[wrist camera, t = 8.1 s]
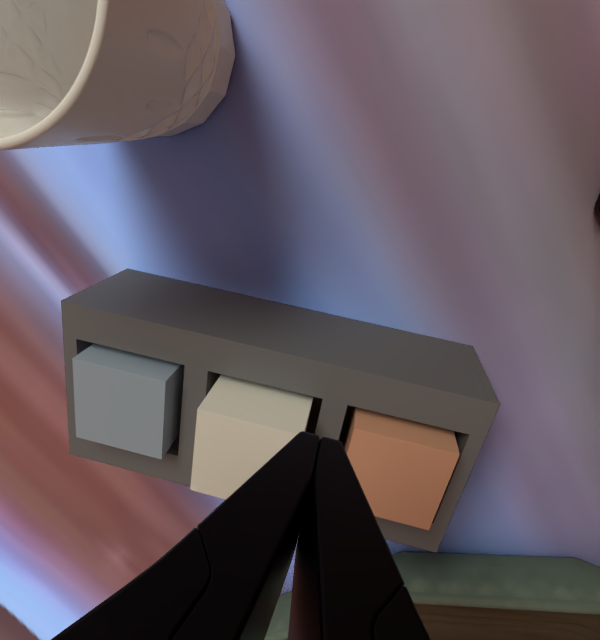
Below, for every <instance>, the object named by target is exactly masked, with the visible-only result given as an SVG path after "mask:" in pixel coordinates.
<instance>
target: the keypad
mask: <svg viewBox="0 0 600 640" xmlns="http://www.w3.org/2000/svg"><path fill="white" fill-rule="evenodd" d="M61 308H62V325H63V343H64V360H65V378H66V395H67V412H68V430H69V447H70V454H72V455H76V456H79V457H83V458H87V459H90V460H94V461H98V462H101V463H105V464H109V465H113V466H116V467H120V468H124V469H127V470H131V471H135V472H139V473H142V474H146V475H150V476H153V477H157V478H161V479H164V480H168V481H172V482H176V483H179V484H183V485H187V486H191V475H192V464H193V452H194V441H195V430H196V419H197V409H198V407H199V406H200V404H201V403H202V401H203V400H204V399H205V397H206V396H207V394H208V393H209V391H210V390H211V388H212V387H213V386H214V384H215V383H216V381H217V380H218V378H219V377H220V375H221V374H223V375H227V376H231V377H235V378H239V379H243V380H247V381H251V382H255V383H260V384H264V385H268V386H272V387H276V388H280V389H284V390H288V391H292V392H297V393H301V394H305V395H309V396H313V402H312V406H311V411H310V415H309V420H308V424H307V429H306V432H308V433H312V434H316V435H318V436H319V437H320V439H321V437H328V438H332V439H336V440H339V441H341V443H342V445H343V441H344V437H345V434H346V430H347V426H348V422H349V418H350V415H351V411H352V407H353V406H354V407H358V408H362V409H366V410H370V411H375V412H379V413H383V414H387V415H391V416H395V417H399V418H403V419H407V420H412V421H416V422H420V423H424V424H428V425H432V426H436V427H440V428H444V429H448V430H453V431H454V434H455V438H456V442H457V446H458V449H459V453H460V455H459V458H458V460H457V463H456V465H455V467H454V470H453V472H452V475H451V477H450V480H449V482H448V485H447V487H446V489H445V492H444V494H443V497H442V499H441V502H440V504H439V507H438V509H437V511H436V514H435V516H434V519H433V521H432V524H431V526H430V529H429V530H425V529H422V528H418V527H414V526H410V525H406V524H403V523H399V522H395V521H391V520H388V519H384V518H380V517H376V516H375V518H376V520H377V523H378V525H379V527H380V529H381V532H382V534H383V536H384V538H385V539H387V540H391V541H394V542H398V543H402V544H405V545H409V546H413V547H416V548H420V549H424V550H428V551H431V552H435V553H436V552H437V550H438V548H439V545H440V543H441V541H442V538H443V536H444V534H445V531H446V529H447V527H448V524H449V522H450V520H451V517H452V515H453V513H454V510H455V508H456V506H457V503H458V501H459V499H460V497H461V494H462V492H463V490H464V487H465V485H466V483H467V480H468V478H469V476H470V473H471V471H472V469H473V466H474V464H475V462H476V459H477V457H478V455H479V452H480V450H481V448H482V445H483V443H484V441H485V439H486V436H487V434H488V432H489V429H490V427H491V425H492V422H493V420H494V418H495V415H496V413H497V411H498V408H499V406H500V402H499V400H498V398H497V396H496V394H495V392H494V390H493V388H492V386H491V383H490V381H489V379H488V377H487V375H486V373H485V371H484V369H483V367H482V365H481V362H480V360H479V358H478V356H477V354H476V352H475V350H474V348H473V346H469V345H464V344H460V343H456V342H451V341H447V340H442V339H438V338H433V337H429V336H424V335H420V334H416V333H411V332H407V331H402V330H398V329H393V328H389V327H384V326H380V325H376V324H371V323H367V322H362V321H358V320H353V319H349V318H344V317H340V316H336V315H331V314H327V313H322V312H318V311H313V310H309V309H304V308H300V307H296V306H291V305H287V304H282V303H278V302H273V301H269V300H264V299H260V298H256V297H251V296H247V295H242V294H238V293H233V292H229V291H224V290H220V289H216V288H211V287H207V286H202V285H198V284H193V283H189V282H184V281H180V280H176V279H171V278H167V277H162V276H158V275H153V274H149V273H144V272H140V271H136V270H131V269H126V270H123V271H121V272H119V273H117V274H115V275H113V276H111V277H109V278H107V279H105V280H103V281H101V282H99V283H97V284H95V285H92V286H90V287H88V288H86V289H84V290H82V291H80V292H78V293H76V294H74V295H72V296H70V297H68V298H66V299H63V300H61ZM94 343H95V344H99V345H103V346H108V347H112V348H116V349H120V350H124V351H128V352H132V353H136V354H140V355H145V356H149V357H153V358H157V359H161V360H165V361H169V362H173V363H177V364H182V365H185V367H184V381H183V395H182V409H181V423H180V434H179V435H178V437H177V438H176V439H175V441H174V442H173V444H172V445H171V447H170V448H169V450H168V451H167V452H166V454H165V455H164V457H163V458H162V460H161V459H157V458H154V457H150V456H146V455H142V454H139V453H135V452H131V451H127V450H124V449H120V448H116V447H112V446H109V445H105V444H101V443H97V442H93V441H90V440H86V439H82V438H78V437H76V423H75V403H74V382H73V362H72V358H74V357H75V356H77V355H78V354H79V353H81V352H82V351H84V350H85V349H87V348H88V347H90V346H91V345H92V344H94Z"/></svg>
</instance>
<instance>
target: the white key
mask: <svg viewBox="0 0 600 640" xmlns="http://www.w3.org/2000/svg"><path fill="white" fill-rule="evenodd" d="M312 402H313V396H309V395H305V394H301V393H297V392H292V391H288V390H284V389H280V388H276V387H272V386H268V385H264V384H260V383H255V382H251V381H247V380H243V379H239V378H235V377H231V376H227V375H223V374H221V375H220V377H219V378H218V380H217V381H216V383H215V384H214V386H213V387H212V388H211V390H210V391H209V393H208V394H207V396H206V397H205V399H204V400H203V401H202V403H201V404H200V406H199V407H198V409H197V419H196V430H195V441H194V452H193V464H192V475H191V486H190V490H193V491H196V492H200V493H204V494H207V495H211V496H215V497H218V498H222V499H227V498H228V497H229V496H230V495H231V494H233V493H234V492H235V491H236V490H237V489H238V488H239V487H240V486H241V485H242V484H243V483H245V482H246V481H247V480H248V479H249V478H250V477H251V476H252V475H253V474H254V473H255V472H257V471H258V470H259V469H260V468H261V467H262V466H263V465H264V464H265V463H266V462H267V461H269V460H270V459H271V458H272V457H273V456H274V455H275V454H276V453H277V452H278V451H280V450H281V449H282V448H283V447H284V446H285V445H286V444H287V443H288V442H289V441H290V440H292V439H293V438H294V437H295V436H296V435H297V434H298V433H299V432H301V431H304V432H306V429H307V424H308V420H309V415H310V411H311V406H312Z"/></svg>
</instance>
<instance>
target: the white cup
mask: <svg viewBox="0 0 600 640" xmlns="http://www.w3.org/2000/svg"><path fill="white" fill-rule="evenodd" d="M234 60H235V48H234V41H233V33H232V26H231V18H230V12H229V10H228V8H227V6H226V4H225V2H224V1H223V0H0V150H12V149H26V148H40V147H55V146H71V145H88V144H103V143H114V142H120V141H134V140H141V139H146V138H151V137H155V136H173V135H176V134H179V133H181V132H183V131H186V130H188V129H191V128H193V127H195V126H198V125H200V124H203V123H204V122H205V121H206V119H207V118H208V117H209V116H210V114H211V113H212V112H213V111H214V109H215V108H216V107H217V106H218V104H219V103H220V102H221V101H222V99H223V98H224V97H225V95H226V92H227V88H228V84H229V80H230V76H231V72H232V68H233V64H234Z"/></svg>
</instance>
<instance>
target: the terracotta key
mask: <svg viewBox="0 0 600 640" xmlns="http://www.w3.org/2000/svg"><path fill="white" fill-rule="evenodd" d="M343 447H344V449H345V451H346V453H347V456H348V458H349V460H350V462H351V465H352V467H353V469H354V471H355V474H356V476H357V478H358V480H359V482H360V485H361V487H362V489H363V491H364V494H365V496H366V498H367V500H368V503H369V505H370V507H371V509H372V511H373V514H374V516H376V517H380V518H384V519H388V520H391V521H395V522H399V523H403V524H406V525H410V526H414V527H418V528H422V529H425V530H429V529H430V526H431V524H432V521H433V519H434V516H435V514H436V511H437V509H438V507H439V504H440V502H441V499H442V497H443V494H444V492H445V489H446V487H447V485H448V482H449V480H450V477H451V475H452V472H453V470H454V467H455V465H456V463H457V460H458V458H459V455H460V453H459V449H458V446H457V442H456V438H455V434H454V431H453V430H448V429H444V428H440V427H436V426H432V425H428V424H424V423H420V422H416V421H412V420H407V419H403V418H399V417H395V416H391V415H387V414H383V413H379V412H375V411H370V410H366V409H362V408H358V407H354V406H353V407H352V411H351V415H350V418H349V422H348V426H347V430H346V434H345V437H344V441H343Z"/></svg>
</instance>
